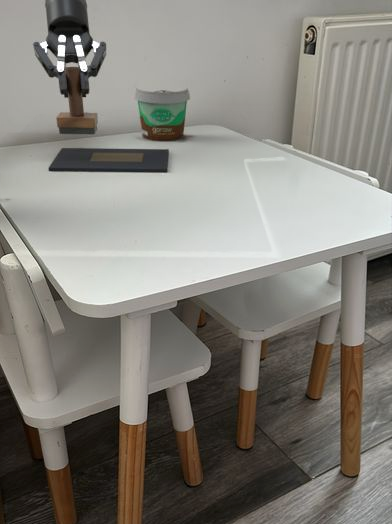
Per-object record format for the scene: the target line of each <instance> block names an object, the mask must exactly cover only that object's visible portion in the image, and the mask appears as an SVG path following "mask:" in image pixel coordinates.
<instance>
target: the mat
mask: <svg viewBox="0 0 392 524" xmlns="http://www.w3.org/2000/svg"><path fill="white" fill-rule="evenodd" d="M169 154H170V150H169V149H168V148H102V147H101V148H99V147H98V148H95V147H94V148H93V147H91V148H90V147H89V148H88V147H83V148H82V147H62V148H61V149H60V150H59V152H58V153H57V154H56V156H55V158H54V159H53V161H51V163H50V164H49V166H48V168H47V169H48V171H49V172H103V173H104V172H108V173H109V172H110V173H112V172H113V173H114V172H115V173H117V172H118V173H168V168H169V157H170V155H169Z"/></svg>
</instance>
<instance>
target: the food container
mask: <svg viewBox="0 0 392 524" xmlns="http://www.w3.org/2000/svg"><path fill="white" fill-rule="evenodd" d="M190 95H191V94H190V91H189V87H186V88H185V89H184V90H179V91H172V90H171V91H170V90H164V89H163V90H162V89H161V90H156V91H147V90H142V89H138V88H136V91H134V97H133V98H134V100H136V101H137V107H138V114H139V122H140V128H141V134H142V137H143V138H144V139H146V140H150V141H155V142H172V141H177V140H181V139H183V137H184V134H185V133H184V132H185V124H186V113H187V105H188V103H187V102H188V101H190V100H191V96H190Z"/></svg>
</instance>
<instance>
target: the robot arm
mask: <svg viewBox="0 0 392 524" xmlns="http://www.w3.org/2000/svg"><path fill="white" fill-rule="evenodd" d="M44 1H45V2H44V3H45V4H44V8H45V13H46V24H47V25H46V26H47V36H46V38H45V41H43V42H41V43H40V42H39V41H34V42H33V44H32V45H33V53H34V55H35V57H36V59H37V61H38V62H39V63H40V65H41V67H42V68H43V69H44V71H45V73H46V75H47V76H48V77H49V78H52V79H53V78H56V79H58V89H59V93H60V95H63V97H64V99H66V98H67V99H68V89H67V79H66V71H65V68H66V67H67V64H70V63H73V64H77V67H79V68H80V77H81V88H82V97H83V98H87V95H89V94H90V82H89V79H90V78H91V77H93V78H97V76H98V75H99V73H100V70H101V67H102V66H103V63H104V61H105V59H106V56H107V43H106V42H105V41H100V42H97V41H94V38H93V37H92V35H91V34H90V25H89V24H90V23H89V15H88V14H89V13H88V3H87V0H44ZM48 50H49V51H50V53H52V54H53V56H55V58H56V59H57V64H56V65H54V63H53V62H52V60H51V59H50V57H49V56H48V55H49V53H48ZM92 50H93V55H94V56H93V57H92V60H91V62H90V64H89V65H88V64H87V61H86V58H87V56H88V55H89V54H90V52H91V51H92Z"/></svg>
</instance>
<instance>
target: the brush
mask: <svg viewBox="0 0 392 524" xmlns="http://www.w3.org/2000/svg"><path fill="white" fill-rule="evenodd" d="M65 71H66V72H65V73H66V79H67V89H68V98H67V99H68V109H69V112H66V111H65V112H63V111H61V112H59V114H58V115H57V116H56V117H55V119H56V126H57V128H58V133H59V134H60V135H96V132H97V131H98V123H99V120H98V119H99V118H98V113H97V112H85V109H84V99H83V98H84V97H82V88H81V77H80V68H79V67H78V66H66V68H65Z"/></svg>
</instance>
